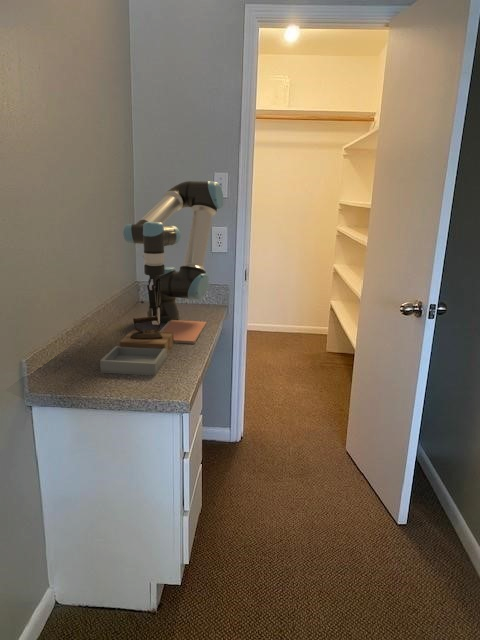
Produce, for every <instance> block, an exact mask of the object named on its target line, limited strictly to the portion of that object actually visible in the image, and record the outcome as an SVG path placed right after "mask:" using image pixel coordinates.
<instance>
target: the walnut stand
mask: <svg viewBox="0 0 480 640" xmlns="http://www.w3.org/2000/svg"><path fill="white" fill-rule="evenodd" d="M136 332H138V331H137V330H131V331H130V332H129V333H128V334H127V335H125V337H124V338H122V339H121V340H120V341H119V347H133V348H153V349H163V348H165V349H167V355H168V354H169V352H170V351H171V349H172V348H173V346H174V345H175V343H174V338H173V332H161V331H160V334H161V335H162V338H161V339H132V338H131V335H132V334H133V333H136Z"/></svg>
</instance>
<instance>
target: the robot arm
mask: <svg viewBox="0 0 480 640" xmlns="http://www.w3.org/2000/svg"><path fill="white" fill-rule="evenodd" d="M223 193H224V191H223V188H222V186H221V184H220V183H219V182H216V181H210V180H207V181H205V180H204V181H203V180H202V181H201V180H199V181H198V180H188V181H187V180H185V181H183V182H180V183H178V184H176V185H173V187H171V188H170V189H168V190H167V191H166V192H165V193H164V195H163V198H162V199H161V200H160V201H159V202H157V204H155V205H154V207H152V208H151V209H150V210H149V211H148V212H147V213H146V214H145V215H144V216H143V217H141V219H139V220H138V221H137V222H136V223H135V224H134V223H128V224H125V226H124V228H123V231H122V233H123V234H122V235H123V239H124V240H125V242H126V243H130V244H135V245H137V244H138V245H139V244H140V245H143V255H142V257H143V258H144V259H143V262H144V266H143V268H144V270H143V271H144V275H146V276H148V277H149V278H148V280H147V281H148V284H147V285H146V288H147V291H148V292H147V293H148V301H149V302H148V303H149V304H148V309H147V311H146V317H151V316H155V315H157V317H158V322H159V324H158V322H157V321H151V323H152V325H157V326H159V325H160V323H168V322H169V321H171V320H179V319H181V312H180V310H179V308H178V307H179V306H178V304H177V299H187V300H196V301H197V300H201V299H203V298H204V297H205V295H206V294H207V293H208V289H209V284H210V279H209V275H207V274H206V272H207V270H206V269H205V268H204V266H205V265H204V263H205V260H206V254H207V248H208V242H209V237H210V231H211V225H212V220H213V217H214V216H216V215H217V212H218V210H219V209H221V208H222V207H223V205H224V194H223ZM183 208H190V210H191V211H192V214H193V215H192V219H191V225H190V229H189V236H188V241H187V246H186V252H185V256H184V262H183V264H181V265H180V266H179V269H178V270H179V271H177V270H176V267H174V266H168V267H167V266H166V267H165V247H167V246H174V245H176V244H178V243H179V242H180V240H181V235H182V234H181V231H180V230H179V228H178V227H177V226H175V225H169V224H167V225H164V224H165V222H167V221H168V220H169V218H170V217H171V216H172V215H173V214H174V213H175V212H179V211H181V210H182V209H183Z"/></svg>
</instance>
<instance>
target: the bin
mask: <svg viewBox="0 0 480 640" xmlns="http://www.w3.org/2000/svg"><path fill="white" fill-rule="evenodd" d="M167 360H168V354H167V349H165V348H163V349H153V348H133V347H120V345H115V346H114V347H113V348H112V349H111V350H110V351H109V352H107V354H106V355H104V356H103V357H102V358H101V359H100V361H99V367H100V373H102V374H103V373H104V374H105V373H106V374H118V375H119V374H120V375H121V374H122V375H139V376H141V375H142V376H157V374H158V373H159V371H160V369H161V368H162V367H163V365H164V364H165V363H166V361H167Z"/></svg>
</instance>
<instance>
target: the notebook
mask: <svg viewBox="0 0 480 640" xmlns="http://www.w3.org/2000/svg"><path fill="white" fill-rule="evenodd" d="M206 325H207V321H196V320H195V321H194V320H179V319H178V320H171V321H169V322H166V323H165V325H164V326H163V327H162V328H161V329H159V330H160V331H159V330H158V331H159V332H173V338H174V344H188V345H195V343H196V342H197V340H198V338H199V337H200V335H201V333H202V332H203V330H204V329H205V327H206Z"/></svg>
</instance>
